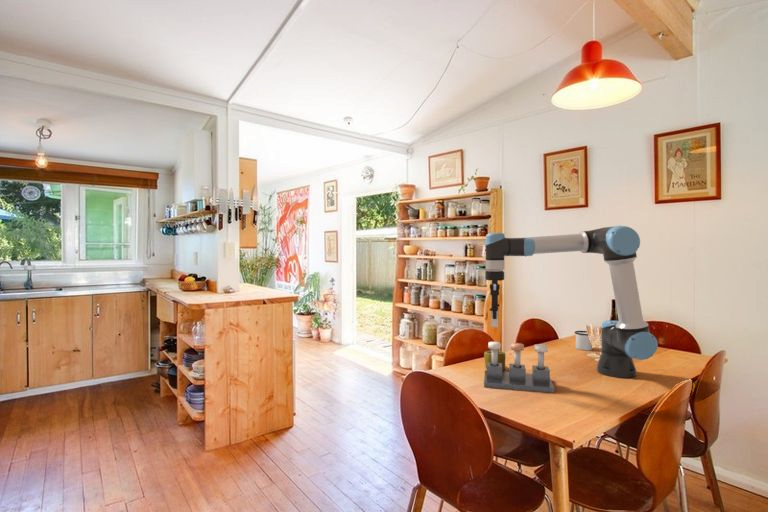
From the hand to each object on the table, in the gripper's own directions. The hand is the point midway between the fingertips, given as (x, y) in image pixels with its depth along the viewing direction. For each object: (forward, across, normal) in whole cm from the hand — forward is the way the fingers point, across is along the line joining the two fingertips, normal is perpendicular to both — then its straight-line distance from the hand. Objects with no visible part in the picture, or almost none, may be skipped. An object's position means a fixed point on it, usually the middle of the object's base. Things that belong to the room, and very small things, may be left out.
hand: (494, 324), depth 167 cm
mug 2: (+24, -69, +48) cm, 87 cm away
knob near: (+18, 0, +18) cm, 25 cm away
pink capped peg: (+18, 0, +9) cm, 20 cm away
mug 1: (+24, -19, 0) cm, 31 cm away
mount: (+24, 0, +9) cm, 25 cm away
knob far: (+18, 0, 0) cm, 18 cm away
